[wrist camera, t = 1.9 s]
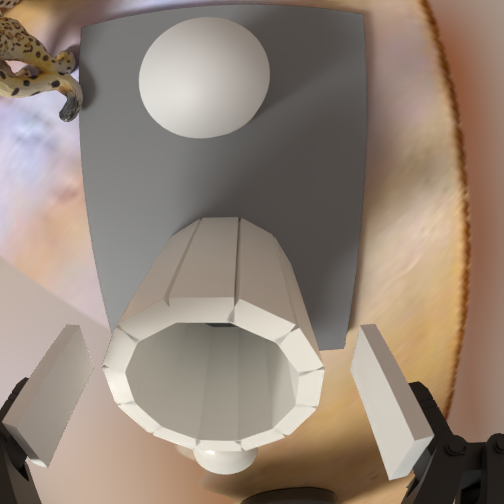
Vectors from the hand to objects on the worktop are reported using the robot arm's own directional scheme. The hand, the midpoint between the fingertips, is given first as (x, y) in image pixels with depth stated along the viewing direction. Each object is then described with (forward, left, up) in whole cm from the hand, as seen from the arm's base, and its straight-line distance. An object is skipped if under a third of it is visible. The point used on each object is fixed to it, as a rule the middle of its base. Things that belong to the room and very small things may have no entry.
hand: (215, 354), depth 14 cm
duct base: (+6, 0, -9) cm, 11 cm away
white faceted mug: (-2, 0, -8) cm, 8 cm away
